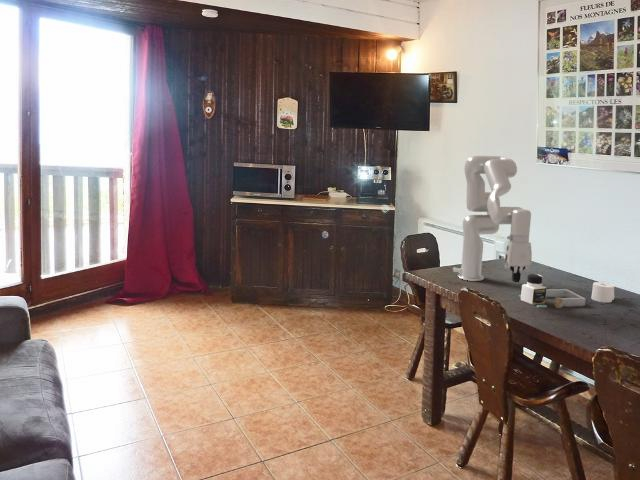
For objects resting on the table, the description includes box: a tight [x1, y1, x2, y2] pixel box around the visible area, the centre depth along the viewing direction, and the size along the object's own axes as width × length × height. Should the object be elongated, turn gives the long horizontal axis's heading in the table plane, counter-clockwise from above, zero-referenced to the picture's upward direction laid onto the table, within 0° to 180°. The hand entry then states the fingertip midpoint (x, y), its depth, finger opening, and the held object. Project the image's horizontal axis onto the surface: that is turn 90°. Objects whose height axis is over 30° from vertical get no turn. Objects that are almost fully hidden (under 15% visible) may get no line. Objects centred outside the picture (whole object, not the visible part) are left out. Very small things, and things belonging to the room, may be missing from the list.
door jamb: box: [553, 297, 563, 309], centre depth 240 cm, size 2×18×4 cm, turn 7°
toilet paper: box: [591, 281, 615, 304], centre depth 246 cm, size 8×11×7 cm
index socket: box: [545, 288, 586, 307], centre depth 241 cm, size 10×14×3 cm
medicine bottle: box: [520, 273, 547, 306], centre depth 238 cm, size 7×7×12 cm
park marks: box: [519, 294, 548, 309], centre depth 239 cm, size 4×16×1 cm, turn 8°
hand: (515, 281), depth 236 cm, fingers closed
